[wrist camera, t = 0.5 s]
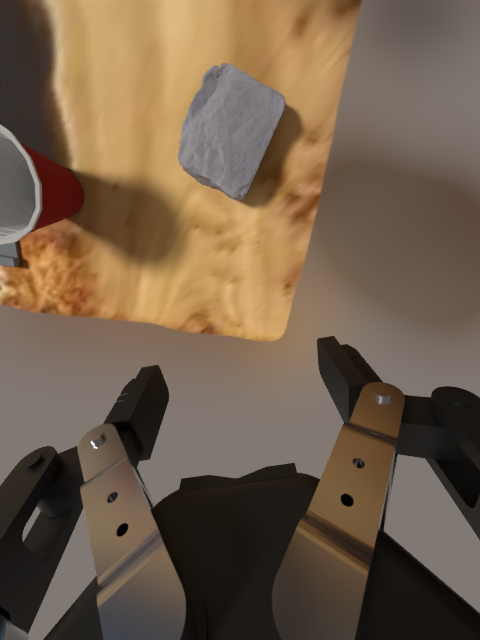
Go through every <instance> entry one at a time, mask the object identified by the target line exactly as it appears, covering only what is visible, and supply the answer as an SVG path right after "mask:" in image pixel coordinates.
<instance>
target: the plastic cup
mask: <svg viewBox="0 0 480 640" xmlns="http://www.w3.org/2000/svg"><path fill="white" fill-rule="evenodd" d="M82 204H83V190H82V187H81V185H80V182H79V181H78V180H77V179H76V177H75V176H74V175H73V174H72V173H71V172H70V171H68V170H67V169H65V168H64V167H63V166H61V165H59V164H57V163H55V162H53V161H52V160H50V159H49V158H47V157H45V156H44V155H42V154H40V153H38V152H36V151H35V150H33V149H31V148H29V147H27V146H25V145H24V144H22V143H20V142H19V141H18V140H17V138H16V137H15V136H14V134H12V133H11V132H10V131H9V130H7V129H6V128H4V127H3V126H2V125H0V245H1V244H7V243H13V242H17V241H19V240H20V239H21V238H23V237H24V236H25V235H27V234H28V233H30V232H33V231H35V230H36V229H39V228H42V227H44V226H47V225H50V224H53V223H55V222H58V221H61V220H63V219H64V218H66V217H69V216H72V215H73V214H75V213H76V212H77V211H78V210H80V208H81V206H82Z"/></svg>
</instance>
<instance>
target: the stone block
mask: <svg viewBox="0 0 480 640" xmlns="http://www.w3.org/2000/svg"><path fill="white" fill-rule="evenodd" d="M285 106H286V105H285V99H284V97H283V95H282V94H281V93H279V92H278V91H276V90H273V89H271V88H270V87H267V86H265V85H263V84H262V83H260V82H258V81H257V80H255V79H254V78H252V77H251V76H249V75H248V74H247V73H245V72H243V71H241V70H239V69H238V68H236V67H235V66H233V65H231V64H227V63H222V64H221V65H220V66H219V67H218V66H215V65H214V66H212V67H211V68H210V69H209V70H208V71H207V72H205V74H204V76H203V81H202V86H201V88H200V90H199V91H198V92H197V93H196V94H195V96H194V99H193V101H192V102H191V104H190V106H189V109H188V112H187V115H186V117H185V120H184V122H183V126H182V134H181V135H182V138H181V140H180V148H179V153H178V160H179V162H180V165H181V166H182V168H183V169H184V170H185V171H186V172H187V173H188V174H189V175H191V176H192V177H193V178H195V179H196V180H197V181H198V182H199V183H201V184H202V185H206V186H209V187H211V188H217V189H218V190H220V191H221V192H223V193H224V194H226V195H227V196H228V197H230V198H232V199H234V200H238V201H242V200H243V199H244V198H245V197H246V194H247V192H248V190H249V188H250V186H251V183H252V181H253V179H254V177H255V174H256V172H257V170H258V168H259V166H260V163H261V161H262V159H263V156H264V154H265V152H266V149H267V147H268V145H269V143H270V140H271V138H272V136H273V134H274V131H275V129H276V127H277V125H278V123H279V121H280V119H281V116H282V114H283V112H284V109H285Z"/></svg>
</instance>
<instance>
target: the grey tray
mask: <svg viewBox="0 0 480 640" xmlns="http://www.w3.org/2000/svg"><path fill="white" fill-rule="evenodd" d="M0 265H4V266H10V267H17V266H21V262H20V256H19V250H18V244H17V242H13V243H7V244H1V245H0Z"/></svg>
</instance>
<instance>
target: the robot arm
mask: <svg viewBox="0 0 480 640" xmlns="http://www.w3.org/2000/svg"><path fill="white" fill-rule="evenodd" d="M317 349H318V364H319V371H320V374H321V377H322V379H323V381H324V383H325V385H326V387H327V389H328V391H329V393H330V395H331V397H332V399H333V401H334V403H335V405H336V407H337V409H338V411H339V413H340V415H341V417H342V419H343V421H344V424H343V426H342V428H341V430H340V433H339V435H338V438H337V440H336V443H335V445H334V448H333V450H332V452H331V455H330V457H329V460H328V462H327V465H326V467H325V470H324V472H323V474H322V477H321V479H318V478H316V477H313V476H310V475H307V474H303V473H297V471H296V467H295V463H290V464H284V465H276V466H270V467H265V468H262V469H260V470H257V471H255V472H253V473H250V474H248V475H245V476H243V477H241V478H228V477H220V476H212V475H206V476H198V477H191V478H184V479H181V483H180V488H179V490H177V491H175V492H173V493H171V494H170V495H168V496H167V497H165V498H164V499H162V500H161V501H160V502H159V503H158V504H156V506H155V505H154V503H153V501H152V498H151V496H150V494H149V492H148V490H147V488H146V486H145V483H144V481H143V479H142V477H141V475H140V472H139V471H138V469H137V465H138V463H139V461H142V460H149V459H150V457H151V454H152V451H153V448H154V444H155V441H156V438H157V435H158V432H159V429H160V426H161V423H162V420H163V416H164V413H165V410H166V407H167V404H168V401H169V392H168V388H167V385H166V383H165V380H164V377H163V375H162V372H161V369H160V367H159V366H158V365H154V366H148V367H142V368H141V370H140V372H139V374H138V375H137V377H136V378H135V379H132V380H131V381H130V382H129V383H128V384H127V385H126V386H125V387H124V389H123V391H122V392H121V394H120V396H119V397H118V399H117V402H116V403H115V405H114V406H113V408H112V410H111V411H110V413H109V415H108V416H107V418H106V420H105V422H104V423H103V425H99V426H97V427H95V428H93V429H92V430H90V431H89V432H88V433H86V434H85V435H84V436H83V437H82V439H81V440H80V442H79V444H78V446H77V447H74V448H71V449H69V450H66V451H64V452H62V453H59V454H58V453H57V451H56V450H55V449H54V448H53V447H51V446H46V447H42V448H39V449H37V450H35V451H33V452H31V453H30V454H28V455H27V456H26V457H24V458H23V459H22V460H21V461H20V462H19V463H18V464H17V465H16V466H15V468H14V469H13V470H12V471H11V473H10V474H9V475H8V477H7V478H6V479H5V481H4V482H3V483H2V485H1V486H0V640H29V638H28V633H29V631H30V628H31V626H32V624H33V621H34V619H35V617H36V615H37V612H38V610H39V608H40V605H41V603H42V601H43V599H44V596H45V594H46V592H47V589H48V587H49V585H50V583H51V580H52V578H53V576H54V573H55V571H56V569H57V566H58V564H59V562H60V560H61V557H62V555H63V552H64V551H65V548H66V546H67V544H68V541H69V539H70V537H71V534H72V532H73V530H74V527H75V525H76V523H77V521H78V518H79V516H80V514H81V511H82V509H83V507H84V513H85V517H86V523H87V528H88V533H89V538H90V544H91V549H92V554H93V559H94V564H95V570H96V575H97V576H96V577H95V578H94V579H93V580H92V582H91V583H90V584H89V585H88V586H87V588H86V589H85V590H84V591H83V592H82V594H81V595H80V596H79V597H78V598H77V600H76V601H75V602H74V603H73V604H72V606H71V607H70V608H69V609H68V610H67V612H66V613H65V614H64V615H63V617H62V618H61V619H60V620H59V621H58V623H57V624H56V625H55V626H54V627H53V629H52V630H51V631H50V632H49V633H48V635H47V636H46V637H45V638H44V639H43V640H480V613H479V612H478V611H477V610H475V609H474V608H473V607H472V606H471V605H470V604H468V603H467V602H466V601H465V600H464V599H463V598H461V597H460V596H459V595H458V594H457V593H456V592H454V591H453V590H452V589H451V588H450V587H448V586H447V585H446V584H445V583H444V582H443V581H442V580H440V579H439V578H438V577H437V576H436V575H434V574H433V573H432V572H431V571H430V570H429V569H427V568H426V567H425V566H424V565H423V564H422V563H421V562H419V561H418V560H417V559H416V558H415V557H413V556H412V555H411V554H410V553H409V552H407V551H406V550H405V549H404V548H403V547H402V546H401V545H399V544H398V543H397V542H396V541H395V540H394V539H392V538H391V537H390V536H389V535H388V534H387V533H385V532H384V530H385V525H386V519H387V513H388V506H389V500H390V495H391V489H392V484H393V478H394V473H395V468H396V462H397V457H398V454H400V455H407V456H414V457H420V458H425V459H426V460H427V462H428V463H429V464H430V466H431V468H432V469H433V471H434V472H435V474H436V475H437V476H438V478H439V480H440V481H441V482H442V484H443V486H444V487H445V488H446V490H447V491H448V493H449V494H450V496H451V497H452V499H453V500H454V502H455V503H456V505H457V506H458V508H459V509H460V511H461V512H462V514H463V515H464V517H465V518H466V520H467V521H468V523H469V524H470V526H471V527H472V529H473V530H474V532H475V533H476V535H477V536H478V538H479V539H480V398H479V397H478V396H476V395H475V394H473V393H471V392H469V391H467V390H464V389H461V388H457V387H448V386H446V387H439V388H436V389H435V390H434V391H433V392H432V395H431V397H418V396H408V395H404V394H403V393H402V391H401V390H400V389H398V388H397V387H395V386H393V385H391V384H388V383H384V382H382V380H381V379H380V378H379V377H378V375H377V374H376V373H375V372H374V371H373V369H372V368H371V367H370V366H369V365H368V363H366V361H365V360H364V358H363V357H361V355H360V354H359V352H358V351H357V350H356V349H355V348H353V347H351V346H349V345H347V344H345V345H340V344H339V342H338V341H337V340H336V338H335V337H334V336H330V337H324V338H319V339H317ZM36 506H37V507H38V508H39V509H40V510H41V512H40V514H39V516H38V517H37V519H36V521H35V523H34V524H33V526H32V528H31V530H30V531H29V533H28V535H27V537H26V539H25V540H24V542H23V540H22V534H23V530H24V527H25V525H26V523H27V521H28V520H29V518H30V516H31V515H32V513H33V511H34V510H35V508H36Z"/></svg>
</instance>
